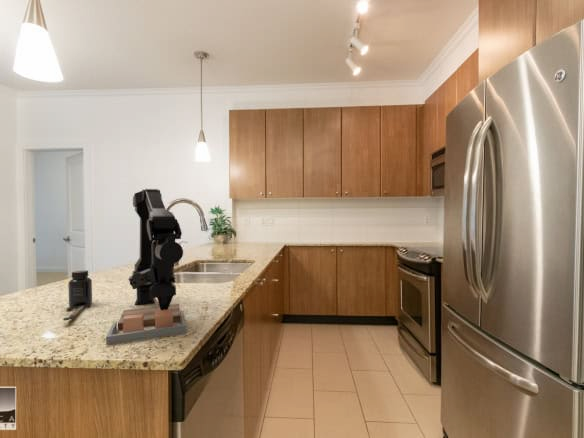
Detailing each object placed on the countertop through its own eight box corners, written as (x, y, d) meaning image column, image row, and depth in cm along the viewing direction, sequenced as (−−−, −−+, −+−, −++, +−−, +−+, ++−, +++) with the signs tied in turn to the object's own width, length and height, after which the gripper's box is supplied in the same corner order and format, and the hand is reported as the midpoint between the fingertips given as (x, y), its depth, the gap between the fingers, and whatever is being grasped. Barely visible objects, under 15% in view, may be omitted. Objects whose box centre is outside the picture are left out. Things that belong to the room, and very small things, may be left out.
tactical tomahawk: (68, 309, 100) (68, 306, 100) (91, 306, 103) (91, 303, 103) (43, 326, 81) (42, 322, 81) (72, 322, 83) (71, 318, 83)
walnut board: (123, 318, 91) (123, 310, 91) (179, 311, 97) (178, 303, 97) (117, 332, 80) (117, 323, 80) (180, 323, 86) (180, 315, 86)
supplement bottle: (96, 302, 108) (96, 269, 107) (81, 308, 101) (80, 273, 101) (80, 301, 108) (79, 269, 108) (63, 307, 102) (62, 273, 102)
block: (155, 310, 81) (154, 317, 79) (172, 308, 83) (172, 314, 81) (155, 323, 82) (155, 330, 80) (172, 321, 84) (172, 327, 82)
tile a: (125, 315, 79) (122, 319, 76) (143, 314, 80) (141, 317, 78) (125, 332, 79) (123, 336, 77) (143, 330, 80) (142, 333, 78)
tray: (113, 333, 79) (113, 322, 79) (184, 323, 86) (183, 313, 86) (106, 349, 70) (106, 336, 70) (186, 336, 77) (185, 325, 77)
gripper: (134, 257, 88) (135, 308, 89) (126, 266, 71) (127, 330, 71) (174, 254, 93) (174, 303, 93) (175, 263, 76) (176, 323, 76)
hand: (163, 314), depth 83 cm, fingers closed
